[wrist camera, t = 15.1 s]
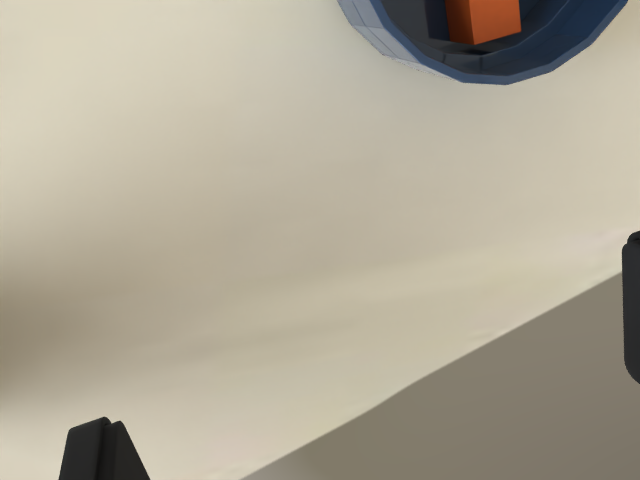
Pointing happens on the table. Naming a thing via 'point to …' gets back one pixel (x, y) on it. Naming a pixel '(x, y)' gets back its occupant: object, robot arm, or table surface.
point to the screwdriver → (482, 20)
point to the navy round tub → (489, 57)
